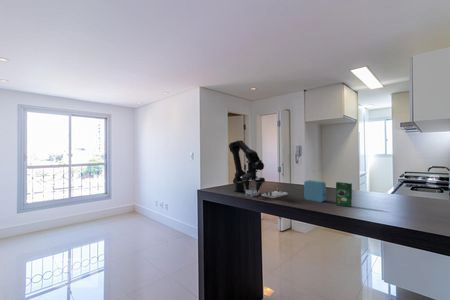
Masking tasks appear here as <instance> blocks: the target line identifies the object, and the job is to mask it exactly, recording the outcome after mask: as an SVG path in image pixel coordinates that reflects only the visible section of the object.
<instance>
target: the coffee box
mask: <svg viewBox="0 0 450 300" xmlns="http://www.w3.org/2000/svg"><path fill="white" fill-rule="evenodd" d="M335 183H336V184H335V206H340V207H346V208H347V207H348V208H352V205H353V203H352V202H353V199H352V198H353V196H352V195H353V183H352V182H343V181H342V182H339V181H336V182H335Z"/></svg>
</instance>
